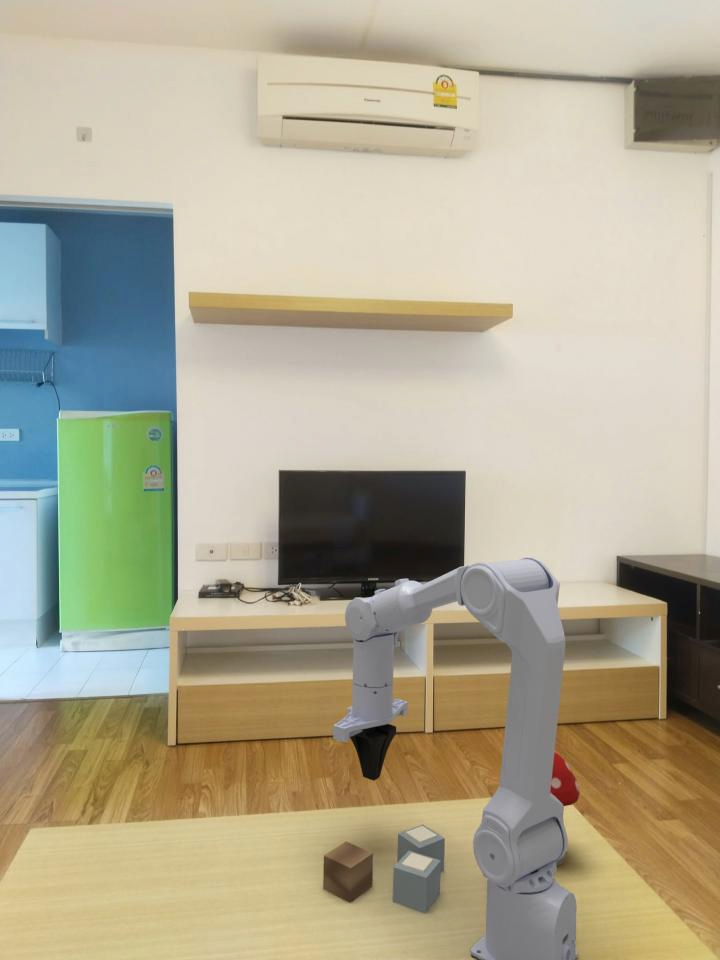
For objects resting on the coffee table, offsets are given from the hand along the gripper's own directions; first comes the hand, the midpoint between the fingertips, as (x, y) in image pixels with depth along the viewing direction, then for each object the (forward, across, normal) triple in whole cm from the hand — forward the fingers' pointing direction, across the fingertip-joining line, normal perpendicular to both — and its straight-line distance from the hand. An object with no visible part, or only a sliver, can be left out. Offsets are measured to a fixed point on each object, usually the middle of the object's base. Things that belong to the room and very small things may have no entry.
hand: (371, 777), depth 102 cm
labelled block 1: (+10, -1, +8) cm, 13 cm away
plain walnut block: (+10, +9, +4) cm, 14 cm away
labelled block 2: (+10, +5, +12) cm, 16 cm away
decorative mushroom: (+10, -15, +19) cm, 27 cm away
